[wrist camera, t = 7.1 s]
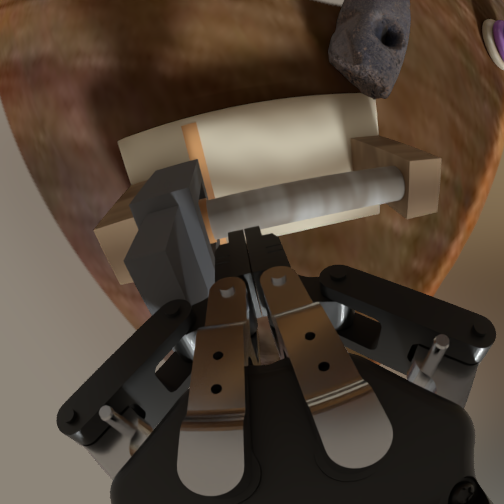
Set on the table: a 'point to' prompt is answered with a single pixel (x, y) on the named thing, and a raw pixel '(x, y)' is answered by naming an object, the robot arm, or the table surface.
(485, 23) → the stacking toy
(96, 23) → the table surface
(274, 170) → the pipe stand
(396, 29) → the perforated stone tool
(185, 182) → the collar
